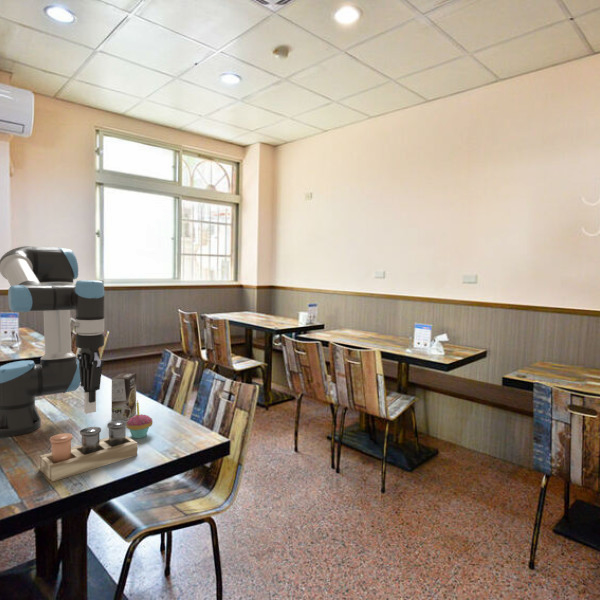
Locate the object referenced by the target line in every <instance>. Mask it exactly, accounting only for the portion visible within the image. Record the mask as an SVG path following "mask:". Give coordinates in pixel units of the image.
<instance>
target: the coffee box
mask: <svg viewBox="0 0 600 600" xmlns="http://www.w3.org/2000/svg"><path fill="white" fill-rule="evenodd" d="M135 414H137V373H135V372H134V373H133V372H129V373H127V372H126V373H123V372H121V373H119V374H117V375H116V376H114V377H111V421H117V420H123V421H128V420H129V419H130V418H131V417H133V416H135Z"/></svg>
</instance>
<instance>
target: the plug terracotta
mask: <svg viewBox="0 0 600 600" xmlns="http://www.w3.org/2000/svg"><path fill="white" fill-rule="evenodd" d="M73 436H74V435H73V434H71V433H69V432H67V433H66V432H65V433H58V434H55V435H53V436H51V437H50V438H49V443H51V453H52V463H59V462H62V461H66V460H69V459H71V447H72V440H73V438H74V437H73Z"/></svg>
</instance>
